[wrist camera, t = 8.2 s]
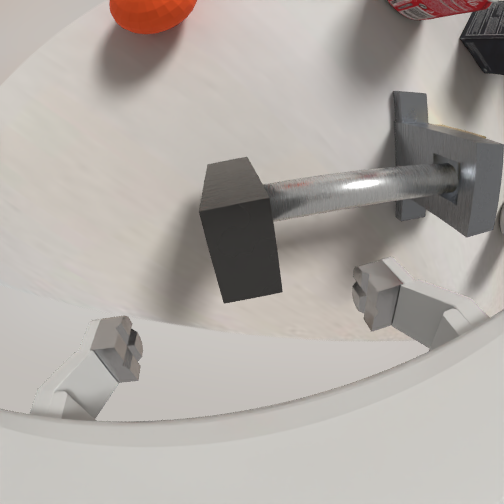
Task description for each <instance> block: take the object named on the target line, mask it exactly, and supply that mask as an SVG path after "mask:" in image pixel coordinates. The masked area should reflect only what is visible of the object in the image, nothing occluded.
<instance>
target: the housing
mask: <svg viewBox="0 0 504 504" xmlns="http://www.w3.org/2000/svg"><path fill="white" fill-rule="evenodd" d="M393 94H394V104H395V117H396V122H394V125H395V148H396V167H397V166H408V165H421V164H436V163H450V164H451V165H452V166H453V167H454V168H455V170H456V172H457V175H458V186H457V188H456V190H455V191H454V192H452V193H445V194H438V195H431V196H425V197H418V198H411V199H405V200H398V201H397V203H396V217H397V218H398V219H399V220H400V221H405V220H410V219H415V218H420V217H425V212H426V209H427V210H428V211H430V212H431V213H433V214H434V215H436V216H437V217H439V218H440V219H442V220H443V221H444V222H446V223H447V224H449V225H450V226H452V227H453V228H454V229H456V230H457V231H458V232H460V233H461V234H463V235H464V236H465V237H470V236H474V235H477V234H480V233H484V232H487V231H491V230H493V228H494V223H495V218H496V213H497V207H498V201H499V194H500V186H501V178H502V167H503V153H504V144H501V143H498V142H495V141H492V140H489V139H486V138H483V137H480V136H476V135H473V134H469V133H466V132H462V131H459V130H455V129H451V128H447V127H443V126H439V125H434V124H430V123H428V110H427V96H426V94H425V93H415V92H402V91H393Z"/></svg>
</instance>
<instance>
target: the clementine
mask: <svg viewBox="0 0 504 504" xmlns="http://www.w3.org/2000/svg"><path fill="white" fill-rule="evenodd" d="M196 2H197V0H110V4H109V5H110V12H111V14H112V16H113V18H114V19H115V21H116V22H117V24H119V25H120V26H121V27H122V28H124V29H126V30H129V31H131V32H134V33H139V34H154V33H159V32H162V31H166V30H168V29H170V28H172V27H174V26H176V25H178V24H179V23H180V22H182V21H183V20H184V19H185V18H186V17H187V16H188V15H189V14H190V13H191V11H192V10H193V8H194V6H195V4H196Z"/></svg>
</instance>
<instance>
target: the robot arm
mask: <svg viewBox="0 0 504 504" xmlns="http://www.w3.org/2000/svg"><path fill="white" fill-rule="evenodd" d="M353 277H354V278H355V280H356V282H355V284H354V285H353V287H352V295H353V301H354V303H355V306H356V308H357V309H358V311H360V312H362V313H364V320H365V322H366V323H367V325H368V327H369V328H370V330H371V331H375V330H378V329H381V328H384V327H387V326H390V325H392V326H393V327H394V328H396V329H398V330H399V331H401V332H403V333H405V334H406V335H408V336H410V337H411V338H413V339H415V340H416V341H418V342H420V343H421V344H423V345H425V346H426V347H428V348H430V349H429V351H428V352H427V353H425V354H423V355H420V356H418V357H416V358H414V359H412V360H409V361H407V362H405V363H402V364H400V365H398V366H395V367H393V368H391V369H388V370H386V371H383V372H380V373H378V374H375V375H372V376H370V377H367V378H364V379H362V380H359V381H356V382H353V383H350V384H347V385H344V386H341V387H338V388H335V389H331V390H328V391H325V392H321V393H318V394H314V395H311V396H308V397H303V398H300V399H296V400H292V401H288V402H284V403H279V404H275V405H271V406H265V407H261V408H256V409H250V410H245V411H239V412H233V413H227V414H220V415H213V416H205V417H196V418H187V419H175V420H161V421H136V422H110V421H96V420H95V418H96V417H97V415H98V414H99V412H100V411H101V409H102V408H103V406H104V405H105V403H106V402H107V400H108V399H109V397H110V396H111V394H112V393H113V391H114V390H115V388H116V387H117V386H118V383H120V382H130V381H138V379H139V373H140V365H139V363H138V361H139V359H140V358H141V357H142V353H143V347H142V341H141V339H140V336H139V335H138V333H137V332H136V331H134V330H133V329H131V326H132V323H131V321H130V319H129V317H127V316H118V317H111V318H103V319H97V320H92V321H90V322H89V324H88V327H87V330H86V332H85V335H84V337H83V340H82V343H81V345H80V348H79V351H78V352H74V353H73V354H72V355H71V356H70V357H69V358H68V359H67V360H66V361H65V362H64V363H63V364H62V365H61V366H60V367H59V368H58V369H57V370H56V371H55V372H54V373H53V374H52V375H51V376H50V377H49V378H48V380H46V381H45V382H44V383H43V384H42V386H40V388H39V389H38V390H37V393H36V396H35V399H34V402H33V405H32V409H31V412H30V414H24V413H18V412H13V411H8V410H3V409H0V504H504V309H503V310H501V311H500V312H498V313H497V314H495V315H494V316H492V317H491V318H490V317H489V316H488V315H487V314H486V313H485V312H484V311H483V310H482V309H481V308H480V307H479V306H478V304H477V303H476V302H475V301H474V300H473V299H472V298H470V297H467V296H464V295H462V294H459V293H456V292H453V291H451V290H448V289H445V288H442V287H440V286H437V285H434V284H431V283H428V282H426V281H423V280H420V279H418V280H415V279H414V278H413V277H412V276H411V275H410V274H409V273H408V272H407V271H406V270H405V269H404V268H403V267H402V266H401V265H400V264H399V263H398V262H397V261H396V260H395V259H394V258H393V257H387V258H384V259H381V260H379V261H375V262H371V263H368V264H364V265H360V266H356V267H355V268H354V271H353Z"/></svg>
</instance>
